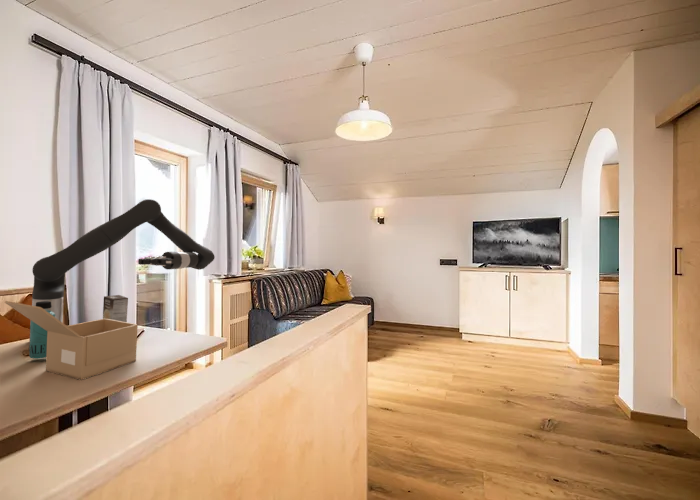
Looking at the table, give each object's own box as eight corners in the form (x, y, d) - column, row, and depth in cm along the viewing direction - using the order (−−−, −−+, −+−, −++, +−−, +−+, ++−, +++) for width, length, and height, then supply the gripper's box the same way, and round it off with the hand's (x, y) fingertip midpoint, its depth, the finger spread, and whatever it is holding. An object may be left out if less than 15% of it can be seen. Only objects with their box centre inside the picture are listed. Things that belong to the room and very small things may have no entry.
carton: (44, 370, 107) (46, 329, 107) (103, 353, 125) (104, 318, 124) (81, 380, 102) (83, 337, 102) (137, 361, 119) (139, 324, 119)
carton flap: (47, 329, 106) (46, 330, 106) (5, 300, 96) (4, 302, 96) (81, 336, 102) (80, 337, 101) (41, 307, 91) (39, 308, 91)
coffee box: (101, 332, 149) (102, 296, 149) (117, 329, 155) (119, 294, 154) (110, 336, 145) (112, 299, 144) (127, 333, 150) (128, 297, 150)
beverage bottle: (53, 355, 120) (55, 299, 119) (54, 360, 115) (57, 302, 115) (27, 359, 115) (30, 300, 115) (28, 364, 111) (30, 304, 110)
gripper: (164, 250, 149) (127, 250, 132) (188, 252, 145) (153, 253, 128) (163, 267, 149) (126, 269, 132) (187, 270, 145) (152, 272, 128)
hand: (139, 261), depth 130 cm, fingers closed
